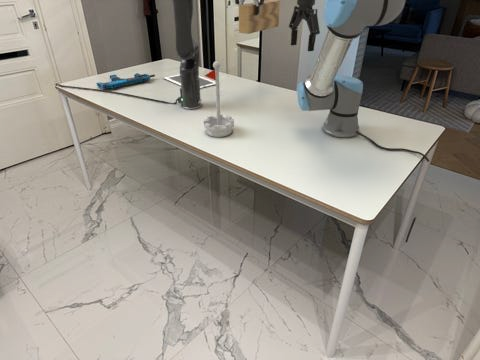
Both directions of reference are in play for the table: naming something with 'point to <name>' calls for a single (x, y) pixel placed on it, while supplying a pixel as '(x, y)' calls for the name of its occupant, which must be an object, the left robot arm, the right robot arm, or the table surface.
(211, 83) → the tablet
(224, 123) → the flag stand
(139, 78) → the submachine gun
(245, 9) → the box
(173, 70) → the table surface
